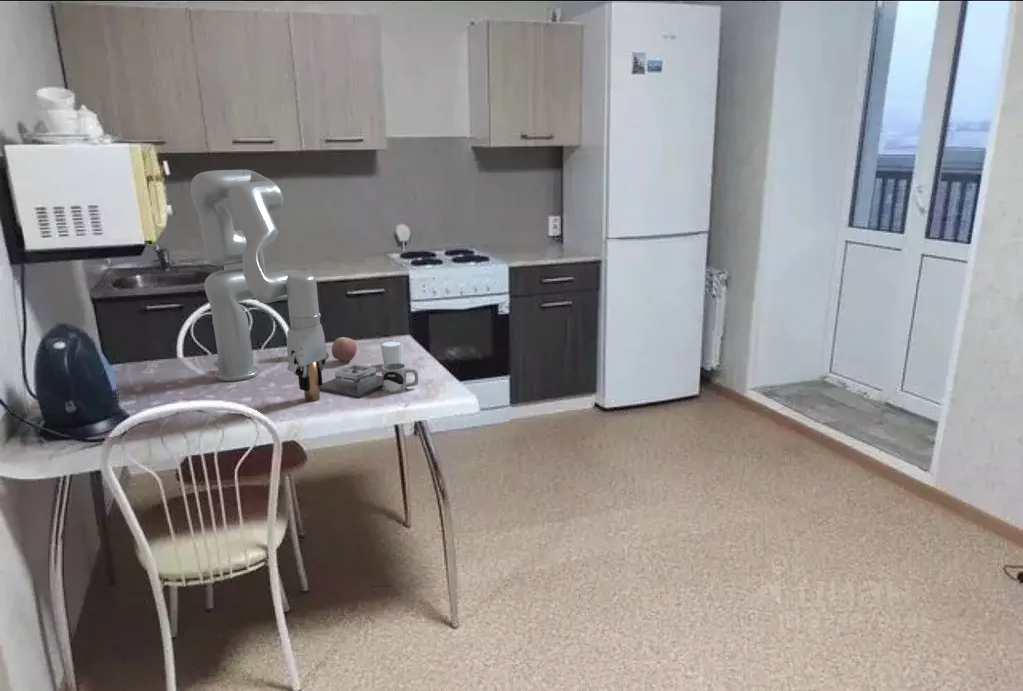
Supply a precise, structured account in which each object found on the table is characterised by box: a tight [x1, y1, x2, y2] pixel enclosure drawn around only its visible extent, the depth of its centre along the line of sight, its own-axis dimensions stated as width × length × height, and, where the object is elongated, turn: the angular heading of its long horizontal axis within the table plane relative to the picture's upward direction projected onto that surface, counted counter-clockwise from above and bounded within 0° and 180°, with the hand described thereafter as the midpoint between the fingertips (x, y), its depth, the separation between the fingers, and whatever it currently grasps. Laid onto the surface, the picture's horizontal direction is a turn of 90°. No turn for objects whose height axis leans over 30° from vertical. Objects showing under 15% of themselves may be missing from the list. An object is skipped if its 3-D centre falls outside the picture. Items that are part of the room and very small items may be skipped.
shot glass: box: [380, 340, 404, 365], centre depth 219 cm, size 7×7×7 cm
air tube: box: [301, 362, 321, 402], centre depth 190 cm, size 4×4×11 cm
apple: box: [331, 336, 358, 362], centre depth 223 cm, size 8×8×8 cm
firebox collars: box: [319, 363, 383, 399], centre depth 201 cm, size 16×15×5 cm
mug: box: [381, 363, 419, 394], centre depth 197 cm, size 10×7×7 cm
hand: (311, 386), depth 190 cm, fingers closed on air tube, 4 cm apart
